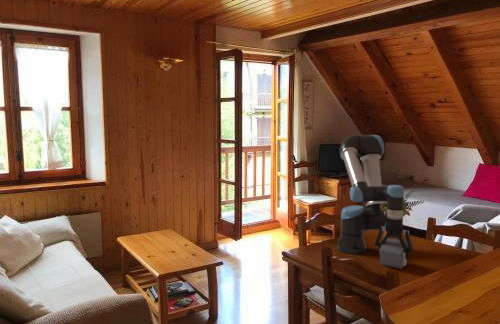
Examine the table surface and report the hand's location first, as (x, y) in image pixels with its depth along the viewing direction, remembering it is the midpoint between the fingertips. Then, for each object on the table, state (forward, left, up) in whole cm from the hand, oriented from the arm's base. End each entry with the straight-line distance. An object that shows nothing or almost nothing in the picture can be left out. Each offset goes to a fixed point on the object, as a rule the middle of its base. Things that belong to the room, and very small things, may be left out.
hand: (393, 262), depth 203 cm
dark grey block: (0, +3, 0) cm, 3 cm away
